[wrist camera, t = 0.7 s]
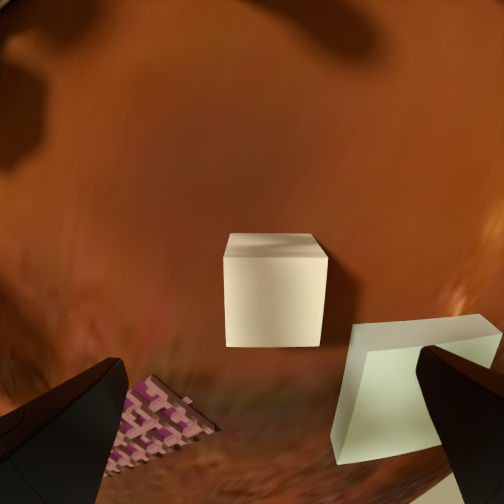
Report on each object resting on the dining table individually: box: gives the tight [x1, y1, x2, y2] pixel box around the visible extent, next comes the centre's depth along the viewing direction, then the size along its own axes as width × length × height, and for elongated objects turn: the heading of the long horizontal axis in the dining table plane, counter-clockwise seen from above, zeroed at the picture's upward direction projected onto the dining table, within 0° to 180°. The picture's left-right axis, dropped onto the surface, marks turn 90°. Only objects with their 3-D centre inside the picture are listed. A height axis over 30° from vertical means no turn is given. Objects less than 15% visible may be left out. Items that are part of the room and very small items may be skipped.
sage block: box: [330, 314, 503, 465], centre depth 22 cm, size 12×12×4 cm
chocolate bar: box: [103, 374, 215, 478], centre depth 25 cm, size 7×19×2 cm, turn 130°
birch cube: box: [224, 233, 328, 347], centre depth 19 cm, size 5×5×5 cm
